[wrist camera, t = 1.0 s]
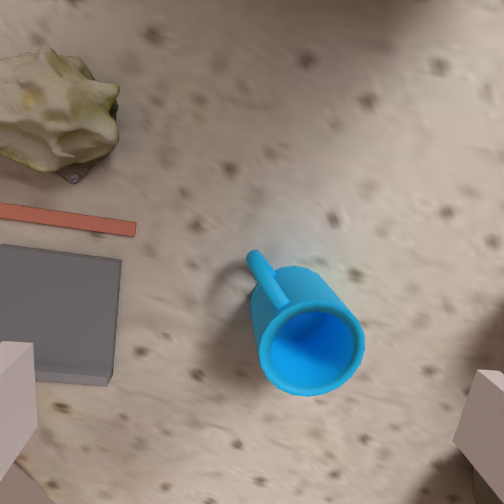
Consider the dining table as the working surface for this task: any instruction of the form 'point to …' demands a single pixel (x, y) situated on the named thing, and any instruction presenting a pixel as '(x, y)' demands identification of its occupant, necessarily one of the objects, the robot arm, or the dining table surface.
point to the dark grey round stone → (483, 491)
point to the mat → (61, 311)
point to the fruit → (55, 114)
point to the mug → (302, 330)
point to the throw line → (67, 219)
